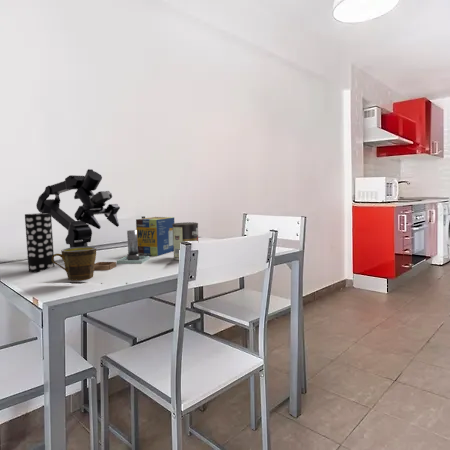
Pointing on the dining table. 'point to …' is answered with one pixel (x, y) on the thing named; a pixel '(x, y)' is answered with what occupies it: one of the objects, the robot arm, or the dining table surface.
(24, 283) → the dining table surface
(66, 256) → the ceramic cup
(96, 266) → the socket block
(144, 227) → the protein box
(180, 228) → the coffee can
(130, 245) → the grey cylinder
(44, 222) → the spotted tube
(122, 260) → the tray
